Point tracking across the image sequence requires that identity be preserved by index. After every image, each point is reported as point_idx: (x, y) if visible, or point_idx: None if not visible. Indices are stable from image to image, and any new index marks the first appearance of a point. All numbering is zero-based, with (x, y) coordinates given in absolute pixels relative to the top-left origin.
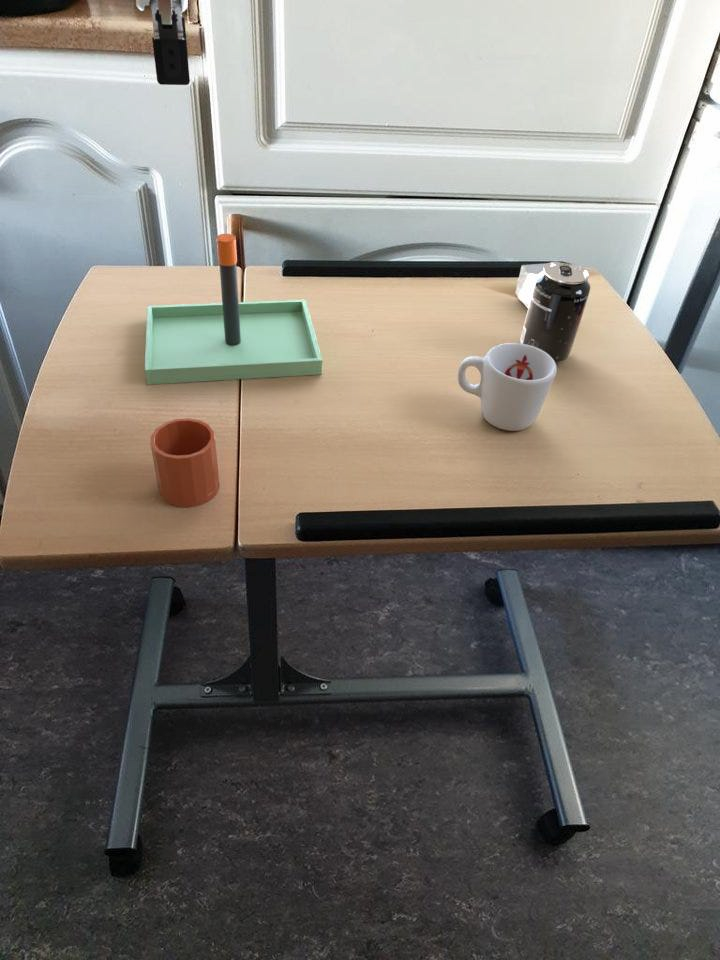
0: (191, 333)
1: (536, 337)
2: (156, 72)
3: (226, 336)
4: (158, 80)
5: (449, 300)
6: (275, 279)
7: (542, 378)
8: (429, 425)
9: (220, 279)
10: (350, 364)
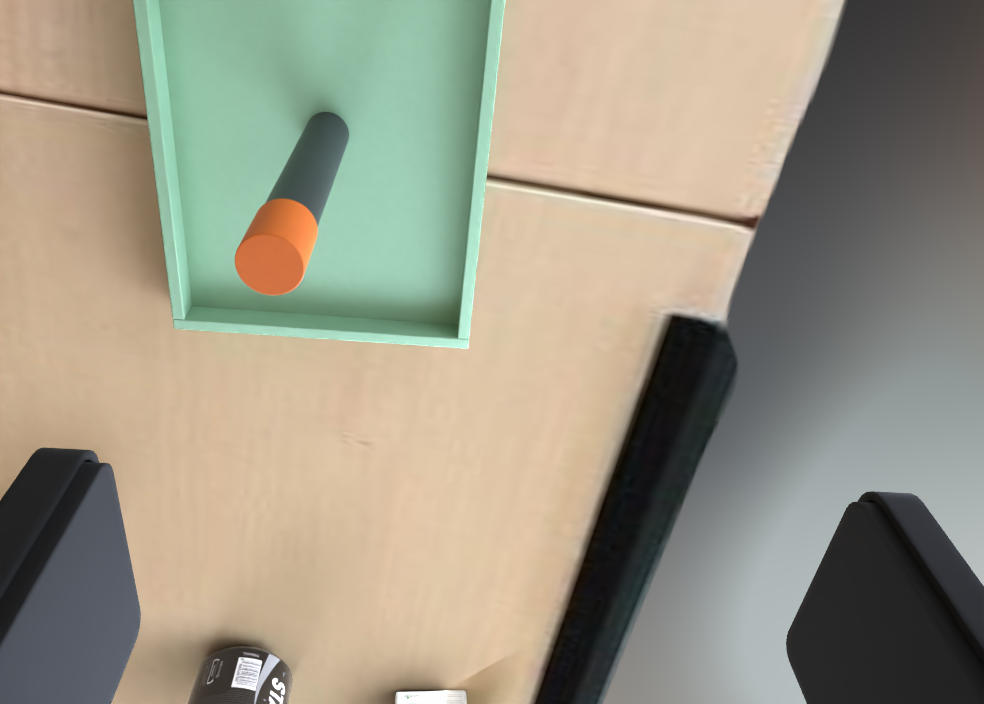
0: (385, 20)
1: (202, 691)
2: (3, 501)
3: (310, 122)
4: (36, 463)
5: (466, 595)
6: (658, 293)
7: None
8: (6, 453)
9: (294, 178)
10: (227, 372)
